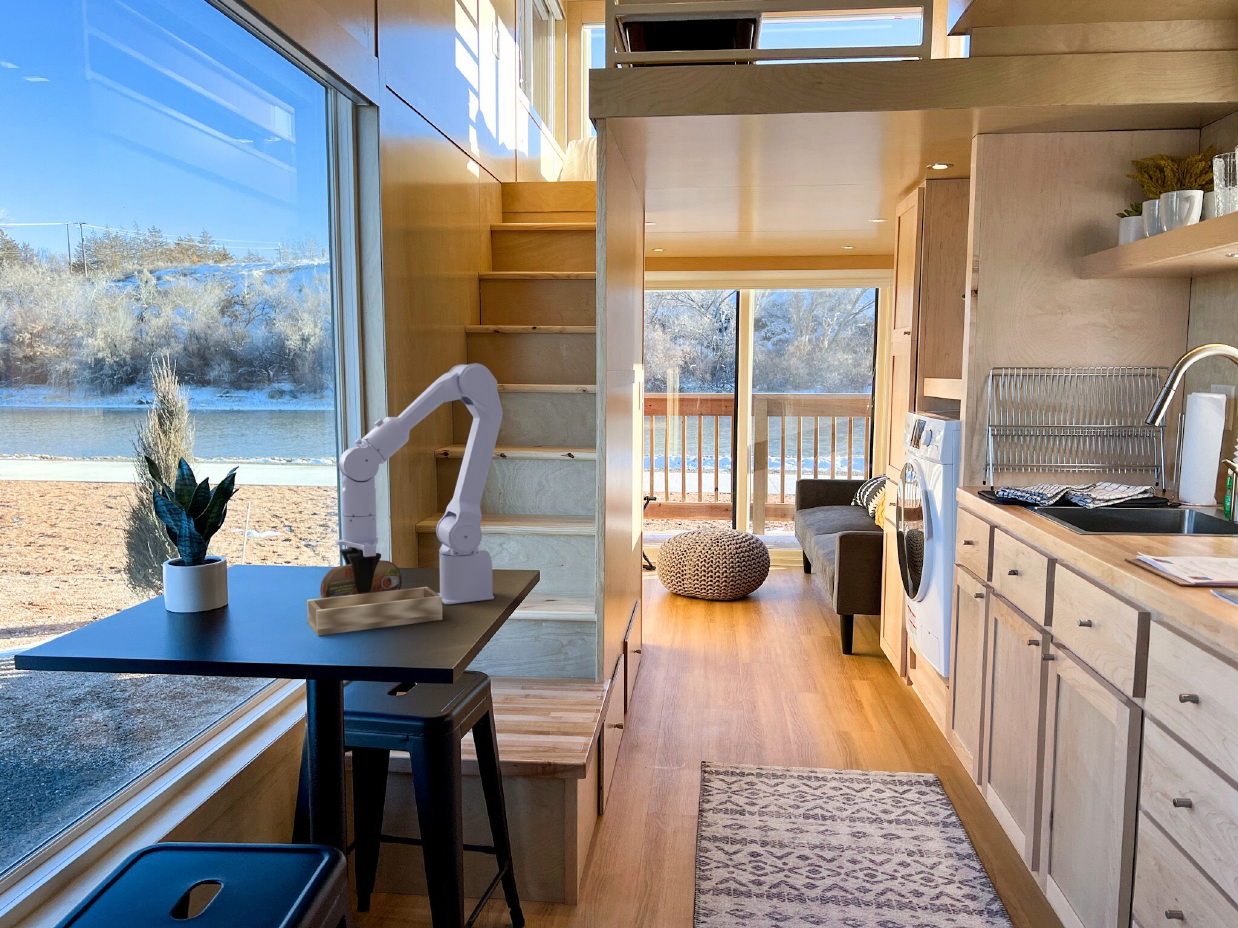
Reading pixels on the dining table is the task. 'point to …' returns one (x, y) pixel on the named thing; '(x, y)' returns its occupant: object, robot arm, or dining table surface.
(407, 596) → the crate
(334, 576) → the tin
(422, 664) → the dining table surface
